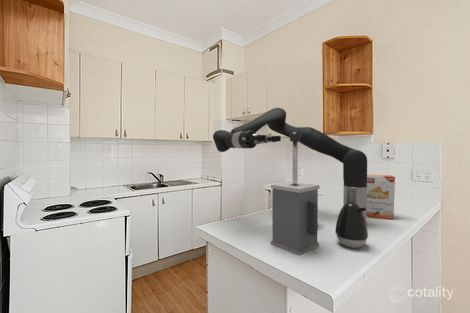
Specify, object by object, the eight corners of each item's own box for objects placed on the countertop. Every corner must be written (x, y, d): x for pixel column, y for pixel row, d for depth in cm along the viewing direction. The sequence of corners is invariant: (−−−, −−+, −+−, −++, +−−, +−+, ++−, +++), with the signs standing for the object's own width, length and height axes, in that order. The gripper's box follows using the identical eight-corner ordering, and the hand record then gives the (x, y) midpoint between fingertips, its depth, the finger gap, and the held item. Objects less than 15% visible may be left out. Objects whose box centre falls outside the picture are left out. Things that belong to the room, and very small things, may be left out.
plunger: (292, 208, 87) (292, 133, 86) (310, 213, 81) (311, 132, 80) (279, 212, 82) (279, 132, 81) (297, 217, 76) (298, 131, 75)
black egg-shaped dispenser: (353, 253, 75) (354, 207, 74) (329, 242, 84) (329, 200, 84) (375, 248, 79) (375, 203, 78) (349, 237, 88) (349, 198, 88)
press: (291, 235, 90) (291, 181, 89) (324, 247, 79) (325, 186, 79) (270, 244, 82) (270, 184, 82) (305, 258, 72) (305, 190, 71)
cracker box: (361, 217, 115) (361, 175, 114) (359, 213, 120) (360, 173, 120) (394, 220, 110) (395, 176, 109) (391, 216, 115) (392, 174, 114)
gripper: (231, 130, 96) (260, 127, 84) (255, 131, 105) (284, 129, 93) (231, 148, 96) (260, 148, 84) (256, 148, 105) (284, 148, 93)
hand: (273, 138), depth 88 cm, fingers open, 8 cm apart
